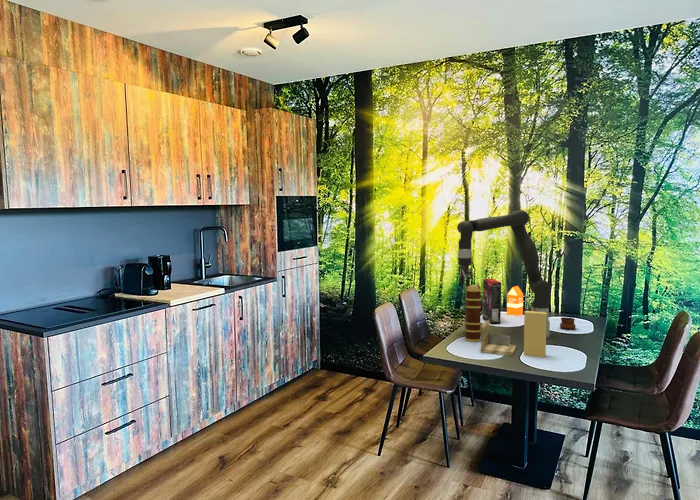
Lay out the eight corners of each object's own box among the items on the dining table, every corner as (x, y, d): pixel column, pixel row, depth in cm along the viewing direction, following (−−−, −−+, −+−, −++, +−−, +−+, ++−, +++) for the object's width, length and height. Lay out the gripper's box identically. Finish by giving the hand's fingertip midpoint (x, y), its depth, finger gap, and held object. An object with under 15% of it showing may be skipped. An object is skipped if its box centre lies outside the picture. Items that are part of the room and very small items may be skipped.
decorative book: (480, 342, 267) (481, 289, 265) (466, 341, 269) (466, 289, 266) (478, 332, 289) (478, 283, 287) (464, 331, 291) (465, 282, 288)
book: (524, 352, 247) (525, 310, 246) (545, 355, 243) (546, 312, 241) (523, 354, 244) (524, 312, 242) (544, 357, 239) (545, 314, 237)
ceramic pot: (560, 333, 285) (560, 321, 284) (546, 326, 302) (547, 315, 302) (589, 333, 285) (590, 321, 285) (574, 326, 303) (575, 315, 302)
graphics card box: (481, 318, 324) (482, 278, 322) (491, 318, 325) (492, 278, 323) (491, 324, 308) (491, 282, 305) (501, 324, 308) (502, 282, 306)
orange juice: (522, 314, 335) (523, 286, 333) (517, 316, 328) (517, 287, 327) (512, 312, 340) (512, 285, 339) (506, 314, 334) (507, 286, 332)
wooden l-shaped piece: (516, 349, 254) (516, 323, 253) (511, 356, 242) (512, 329, 240) (486, 345, 261) (486, 320, 260) (480, 352, 249) (481, 326, 247)
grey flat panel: (509, 345, 254) (510, 336, 254) (509, 346, 252) (509, 336, 252) (488, 342, 259) (488, 333, 259) (487, 343, 257) (488, 334, 257)
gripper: (476, 257, 265) (476, 286, 266) (466, 255, 279) (466, 283, 280) (463, 258, 264) (463, 287, 265) (454, 255, 278) (454, 283, 279)
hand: (464, 285), depth 273 cm, fingers open, 8 cm apart
